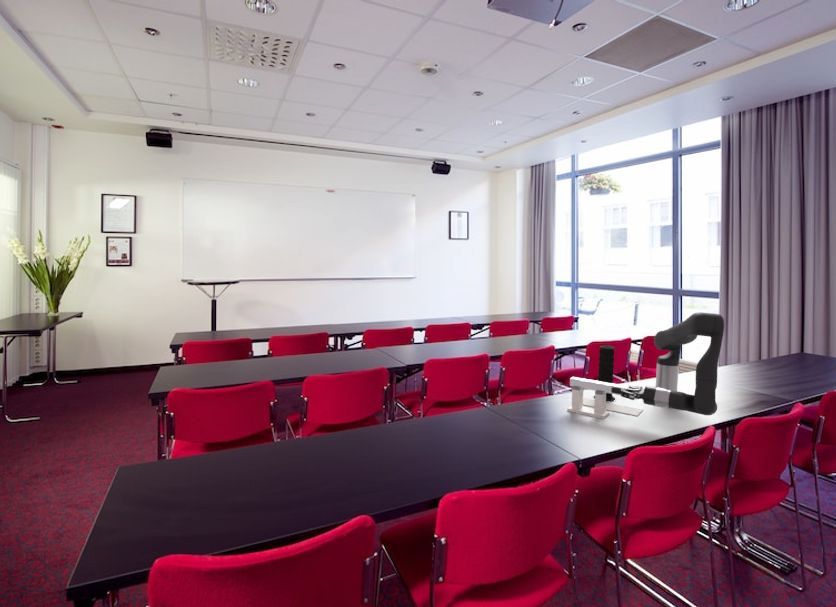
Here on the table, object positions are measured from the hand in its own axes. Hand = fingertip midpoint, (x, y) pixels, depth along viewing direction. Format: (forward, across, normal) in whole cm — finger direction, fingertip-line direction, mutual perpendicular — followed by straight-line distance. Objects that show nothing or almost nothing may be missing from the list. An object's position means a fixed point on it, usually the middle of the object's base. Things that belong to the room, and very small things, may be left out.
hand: (613, 388), depth 193 cm
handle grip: (+11, -26, +13) cm, 31 cm away
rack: (+10, 0, +13) cm, 16 cm away
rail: (+6, 0, +2) cm, 6 cm away
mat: (+6, -14, +13) cm, 20 cm away
